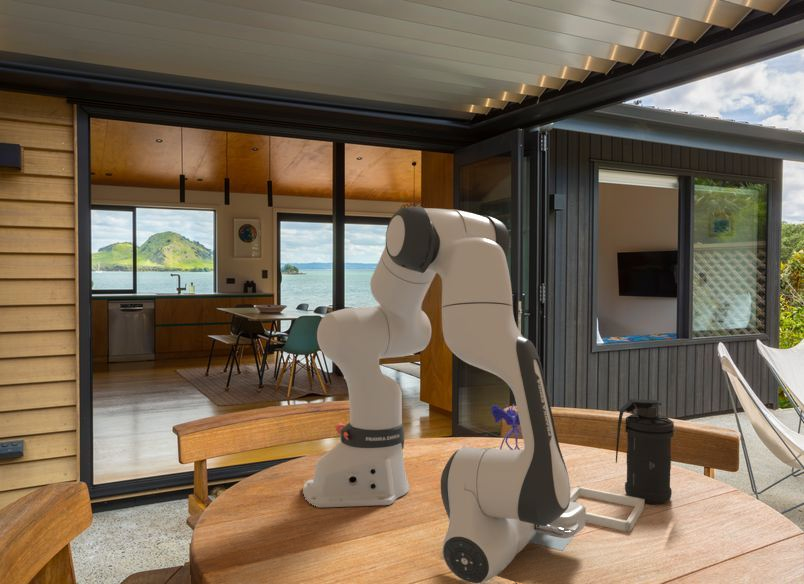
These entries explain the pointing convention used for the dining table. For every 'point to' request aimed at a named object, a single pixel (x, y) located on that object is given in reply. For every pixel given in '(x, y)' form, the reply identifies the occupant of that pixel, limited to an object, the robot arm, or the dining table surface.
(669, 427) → the grenade
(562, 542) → the plate
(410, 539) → the dining table surface
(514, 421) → the squid
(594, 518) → the box
